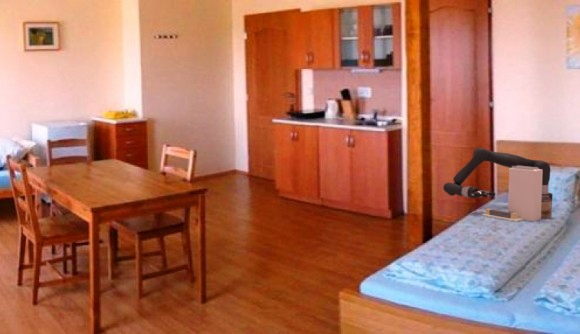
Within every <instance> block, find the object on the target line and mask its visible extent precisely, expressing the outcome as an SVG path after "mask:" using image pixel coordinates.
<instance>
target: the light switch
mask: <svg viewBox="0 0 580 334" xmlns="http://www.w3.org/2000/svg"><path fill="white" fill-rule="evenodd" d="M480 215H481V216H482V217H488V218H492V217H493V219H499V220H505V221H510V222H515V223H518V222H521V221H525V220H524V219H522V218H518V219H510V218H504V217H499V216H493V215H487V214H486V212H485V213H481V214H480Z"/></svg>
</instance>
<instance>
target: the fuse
mask: <svg viewBox="0 0 580 334" xmlns="http://www.w3.org/2000/svg"><path fill="white" fill-rule="evenodd" d="M485 213H486V214H487V215H493V216H499V217H504V218H510V219H518V213H513V212H508V210H506V211H505V210H499V209H494V208H485Z"/></svg>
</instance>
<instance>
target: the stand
mask: <svg viewBox="0 0 580 334" xmlns="http://www.w3.org/2000/svg"><path fill="white" fill-rule="evenodd" d="M508 168H509V167H508ZM508 171H509V172H508V198H507V200H508V201H507V212H513V213H518V218H522V219H524V220H523V221H528V222H529V221H530V222H535V221H539V220H542V218H541V201H542V174H543V170H541V169H539V168H537V167H527V166H517V167H515V166H512V168H509V169H508Z"/></svg>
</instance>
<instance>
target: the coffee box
mask: <svg viewBox="0 0 580 334" xmlns="http://www.w3.org/2000/svg"><path fill="white" fill-rule="evenodd" d="M553 197H554V195H553V193H551V192H548V193H545V192H542V201H541V219H552V218H553V217H552V214H553Z"/></svg>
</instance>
